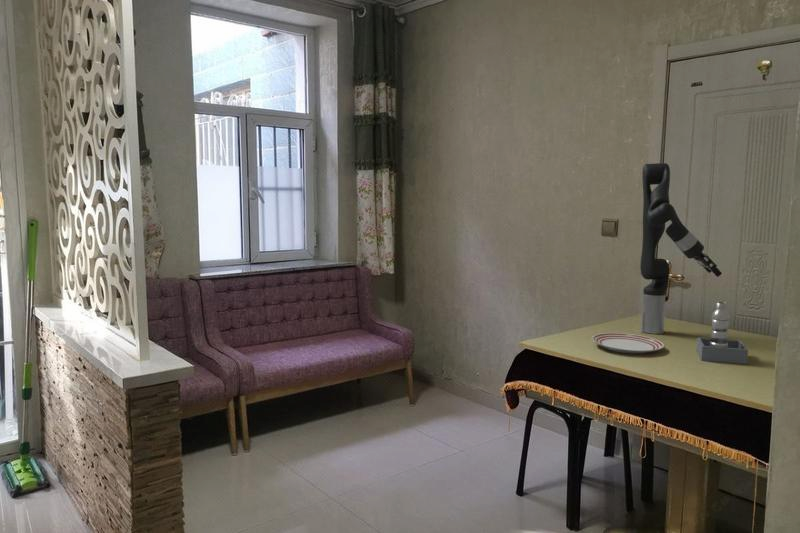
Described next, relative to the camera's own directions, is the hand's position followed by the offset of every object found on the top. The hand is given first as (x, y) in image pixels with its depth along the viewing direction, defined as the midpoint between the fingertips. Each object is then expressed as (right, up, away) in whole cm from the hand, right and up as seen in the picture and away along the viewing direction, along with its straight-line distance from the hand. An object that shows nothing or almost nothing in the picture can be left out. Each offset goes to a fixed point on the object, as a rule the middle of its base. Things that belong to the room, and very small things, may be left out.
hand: (715, 273), depth 243 cm
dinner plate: (-36, -31, 0) cm, 47 cm away
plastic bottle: (-6, -31, -14) cm, 35 cm away
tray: (-6, -32, -15) cm, 36 cm away
